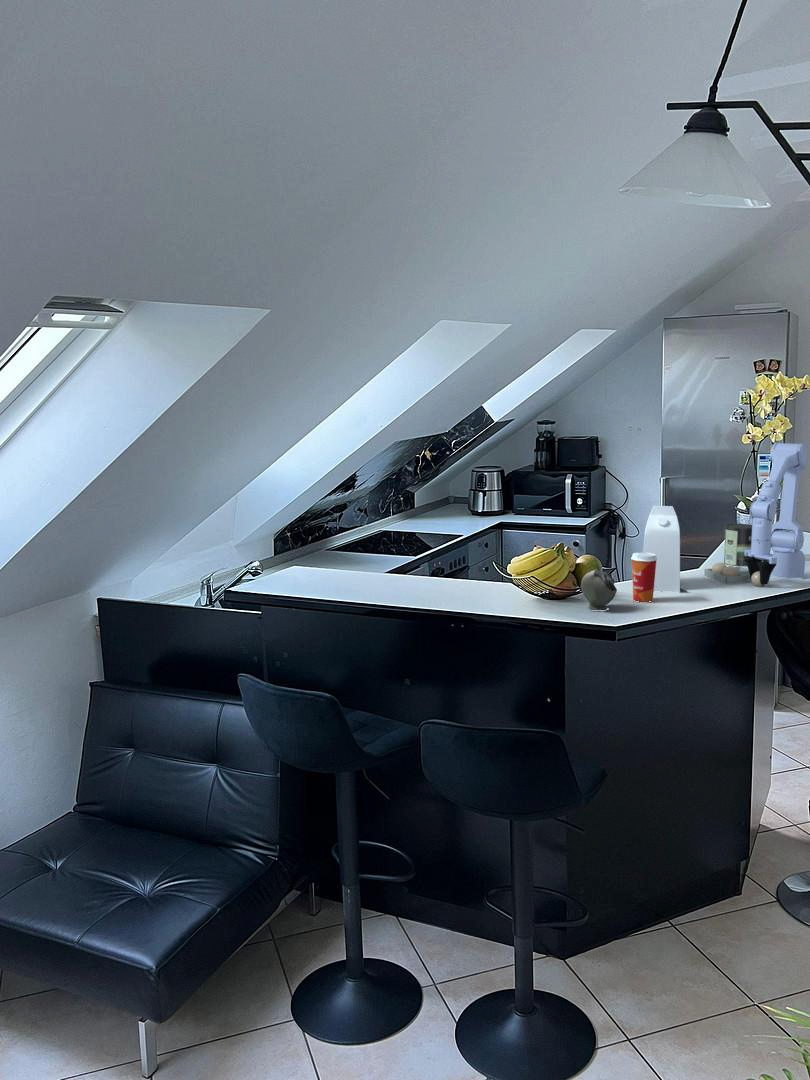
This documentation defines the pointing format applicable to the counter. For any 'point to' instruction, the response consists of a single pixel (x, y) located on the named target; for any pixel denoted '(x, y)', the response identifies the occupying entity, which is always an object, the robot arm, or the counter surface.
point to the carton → (741, 578)
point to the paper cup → (643, 576)
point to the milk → (664, 547)
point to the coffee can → (737, 543)
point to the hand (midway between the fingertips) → (759, 582)
